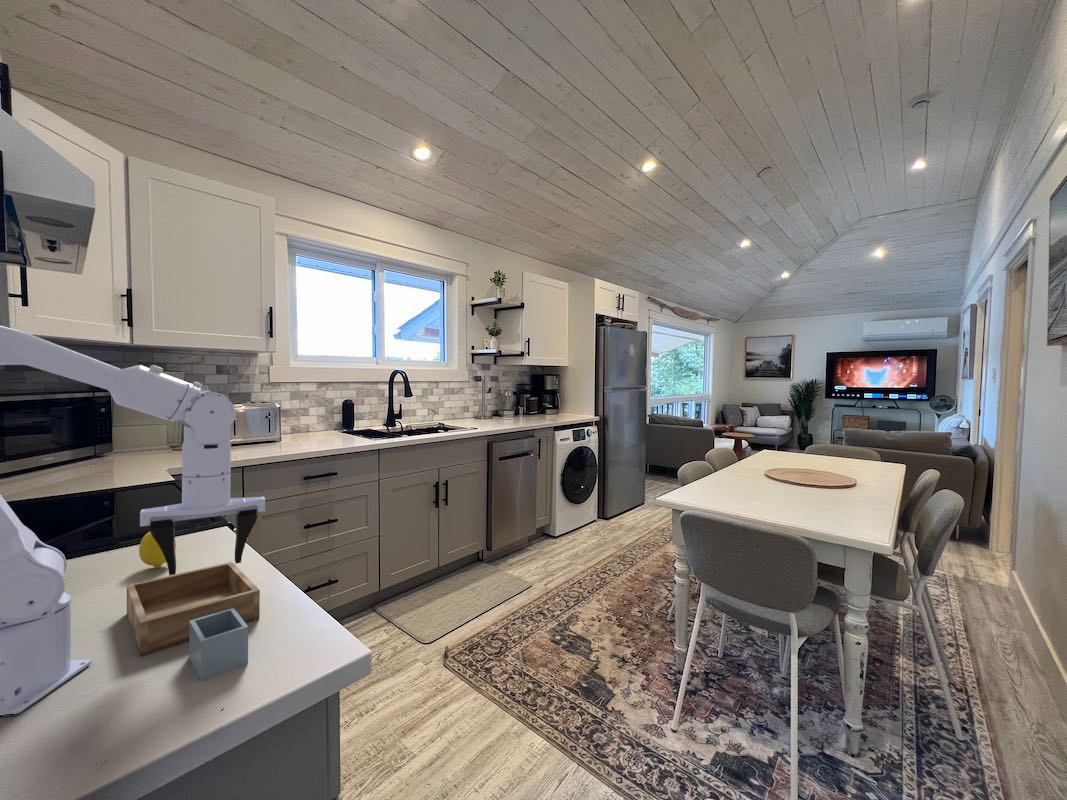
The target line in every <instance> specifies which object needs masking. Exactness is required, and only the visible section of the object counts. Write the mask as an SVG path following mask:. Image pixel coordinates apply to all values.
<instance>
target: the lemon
mask: <svg viewBox="0 0 1067 800" xmlns="http://www.w3.org/2000/svg"><path fill="white" fill-rule="evenodd" d="M176 543H177V542H176V541H175V550H176V548H177V547H176V546H177V544H176ZM138 554H139V558H140V560H141V561H142V562H143V563H144V564H145V565H148V566H152V567H154V568H155V569H159V568H161V566H162V565H164V564H167V562H166V559H165V557H164V555H163V552H162V550H161V549H160V547H159V545H158V544H157V542H156V541H155V539H154V538H153V536H152V534H151V532H150V531H148V532H147V533H146V534H145V535H144V536H143V537H142V539H141V541H140V543H139V547H138Z"/></svg>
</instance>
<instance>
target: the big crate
mask: <svg viewBox="0 0 1067 800" xmlns="http://www.w3.org/2000/svg"><path fill="white" fill-rule="evenodd" d="M260 593H261V590H260V589H259V588H258V587H257V585H255V584H254V583H253V581H251V580H250V578H248V576H247V575H246V574H245V573H244V572H243V571H241V569H240V568H239V567H238V566H237V565H236V563H234V562H233V561H228V562H224V563H220V564H215V565H211V566H207V567H201V568H199V569H198V568H197V569H194V570H188V571H184V572H180V573H176V574H174V575H167V576H162V577H158V578H153V579H149V580H144V581H139V582H136V583H135V582H134V583H130V584H127V585H126V616H127V619H128V623H129V625H130V629H131V632H132V635H134V636H133V638H134V641H135V644H136V645H135V646H136V648H137V651H138V654H139V657H143V656H146V655H150V654H152V653H153V654H154V653H155V652H159V651H162V650H166V649H169V648H172V647H174V646H178V645H181V644H184V643H187V642H188V643H189V621H190V620H194V619H197V618H201V617H204V616H207V615H211V614H214V613H218V612H221V611H225V610H228V609H232V608H234V609H235V610H236V612H237V613H238V614H239V615H240V617H241V618H242V619H243V621H244V622H245V623H246V624H247V622H248V623H251V622H253V620H254V621H256V620H255V619H257V620H260V619H259V618H260V616H261V615H260V613H261V612H260V609H261V607H260V606H261V605H260V595H261V594H260ZM250 621H251V622H250Z"/></svg>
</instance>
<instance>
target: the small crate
mask: <svg viewBox="0 0 1067 800" xmlns="http://www.w3.org/2000/svg"><path fill="white" fill-rule="evenodd" d="M188 644H189V645H188V648H189V650H188V651H189V652H188V658H189V660H190V661H191V664H192V666H193V668H194V670H195V672H196V674H197V676H198V678H199V680H200V682H203V681H206V680H208V679H211V678H213V677H216V676H219V675H221V674H224V673H227V672H230V671H232V670H234V669H237V668H240V667H243V666H245V665H248V664H249V625H248V624H247V623H245V622H244V621H243V619H242V618H241V617H240V615H239V614H238V613H237V612H236V610H235V609H234V608H232V609H228V610H225V611H221V612H218V613H214V614H211V615H207V616H204V617H201V618H197V619H194V620H190V621H189V641H188Z"/></svg>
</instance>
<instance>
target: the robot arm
mask: <svg viewBox="0 0 1067 800" xmlns="http://www.w3.org/2000/svg"><path fill="white" fill-rule="evenodd" d="M7 365H8V366H14V365H15V366H16V365H18V366H29V367H31V368H35V369H38V370H42V371H45V372H48V373H52V374H54V375H57V376H62V377H65V378H68V379H71V380H74V381H76V382H77V381H78V382H80V383H84V384H88V385H91V386H93V387H98V388H101V389H104V390H107V391H108V393H110V395H111V398H112V399H113V401H114V403H115V404H116V405H118V406H121V407H125V408H127V409H131V410H134V411H137V412H141V413H142V414H147V415H150V416H153V417H156V418H160V419H162V420H166V421H168V422H176V421H181V423H182V424H183V425H184V426H183V443H182V444H181V447H182V449H181V450H182V451H181V457H182V458H181V459H182V461H181V503H176V504H170V505H165V506H157V507H151V508H144V509H143V508H142V509H141V510H140V512H139V526H140V527H148V526H150V530H149V532H151V534H152V536H153V538H154V539H155V541H156V542H157V544H158V545H159V547H160V549H161V550H162V552H163V555H164V557H165V559H166V565H167V569H168V576H170V575H175V574H177V556H176V549H175V542H176V536H175V535H176V522H179V521H187V520H195V519H203V518H205V519H206V518H213V517H220V516H228V515H235V535H236V536H235V544H234V545H235V547H234V562H235V563H234V564H241V563H242V558H243V557H242V556H243V554H244V553H243V552H244V549H245V546H246V543H247V541H248V538H249V535H250V533H251V531H252V529H253V528H254V525H255V524H256V522H257V519H258V514H257V513H262V512H265V511H266V498H265V496H254V497H251V496H250V497H236V498H235V497H233V498H231V483H232V482H231V480H232V479H231V474H232V473H231V471H232V470H231V468H232V465H231V464H232V460H231V459H232V442H231V437H230V436H231V425H232V424H234V422H235V420H236V418H237V411H236V410H235V408H234V404H233V402H232V401H231V400H230V399H229V398H228V397H227V396H226V395H224V394H222V393H219V392H218V391H217V392H216V391H211V390H208V389H202V387H203V383H200V382H197V381H193V382H192V383H190V382H187V381H184V380H183V379H179V378H177V377H174V376H171V375H170V374H169V375H168V374H166V373H163V371H164V368H162V367H160V366H157V365H155V364H151V365H150V366H149V367H147V366H144V365H143V364H142V365H141V364H138V365H137V364H136V365H134V366H133V365H132V366H130V367H125V368H119V367H117V366H114V365H113V364H108V363H106V362H104V361H101V360H99V359H95V358H93V357H90V356H88V355H85V354H82V353H80V352H77V351H74V350H72V349H69V348H68V347H67V348H66V347H64V346H62V345H59V344H57V343H54V342H51V341H49V340H45V339H44V338H40V337H38V336H35V335H33V334H30V333H27V332H25V331H22V330H17V329H14V328H11V327H7V326H5V325H4V326H3V325H0V366H7ZM67 565H68V564H67V559H66V557H65V554H64V553H63V552H62V551H61V550H59V549H58V548H56V547H54V546H51V545H48V544H46V543H44V542H43V541H41V540H40V538H38V536H37V535H36V534H35V532H33V531H32V530H31V529H30V528H29V527H27V526H26V525H24V524H23V522H22V521H21V520H20V518H19V517H18V516H17V514H16V513H15V512H14V511H13V509H12V507H10V505H9V504H8V503H7V501H6V499H4V497H3V496H2V494H1V493H0V714H15V715H17V713H18V714H20V713H22V712H23V711H24V710H25V709H27V708H29V707H30V706H32V705H33V704H34V703H36V702H37V701H39V700H40V699H42V698H43V697H44V696H46V695H48V694H49V693H51V692H52V691H53V690H55V689H56V688H58V687H59V686H60V685H62V684H64V683H65V682H67V680H70V679H71V678H73V676H75V675H76V674H78V673H80V672H81V671H82V670H84V669H85V668H86V667H88V666H90V665H91V664H92V659H90V658H86V659H85V658H83V659H72V657H71V656H72V653H71V652H72V631H71V629H72V628H71V627H72V626H71V625H72V618H71V617H72V615H71V614H72V608H71V607H72V605H71V604H72V603H71V602H72V596H71V595H70V594H68V593H66V592H65V588H66V581H65V572H66V570H67Z"/></svg>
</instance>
